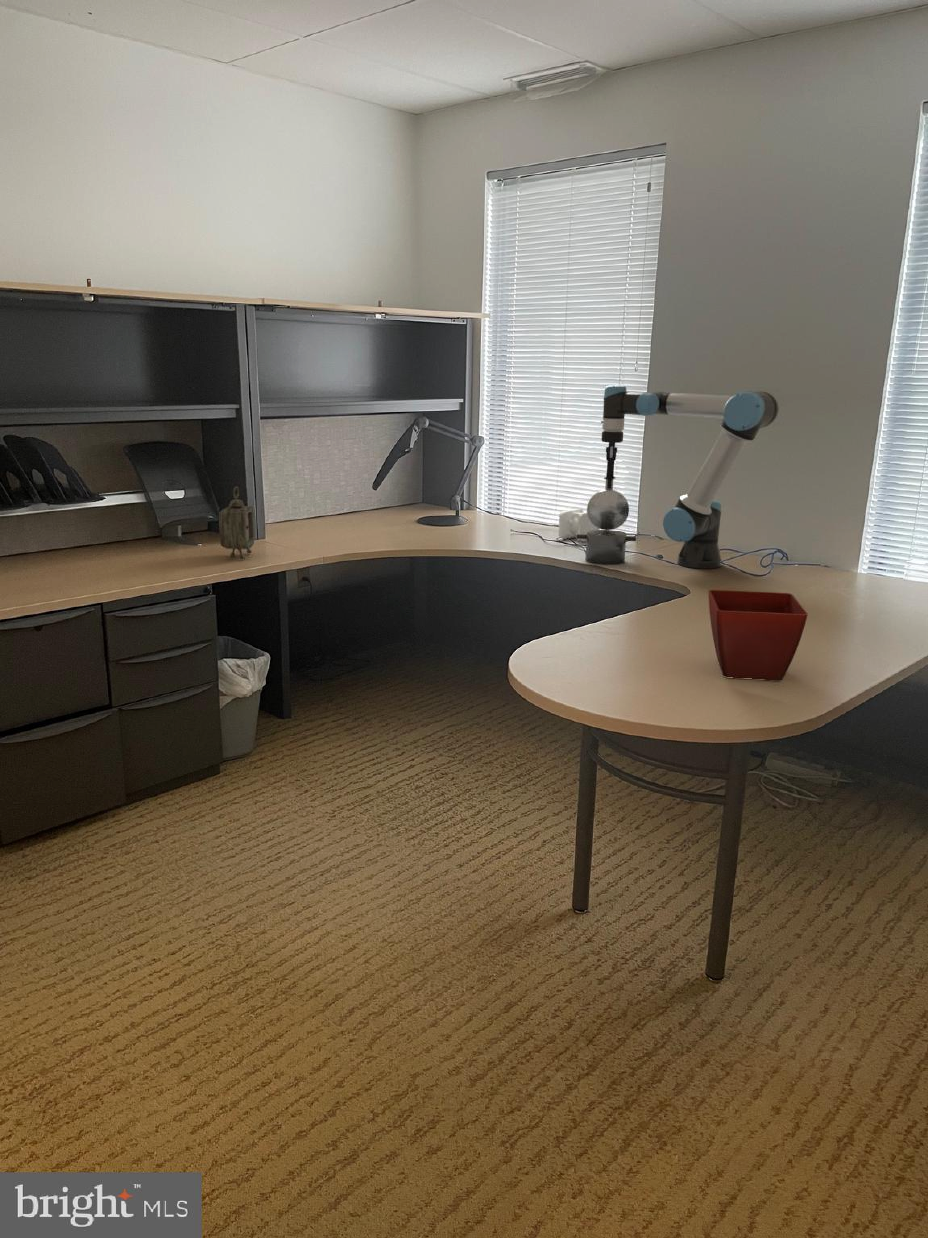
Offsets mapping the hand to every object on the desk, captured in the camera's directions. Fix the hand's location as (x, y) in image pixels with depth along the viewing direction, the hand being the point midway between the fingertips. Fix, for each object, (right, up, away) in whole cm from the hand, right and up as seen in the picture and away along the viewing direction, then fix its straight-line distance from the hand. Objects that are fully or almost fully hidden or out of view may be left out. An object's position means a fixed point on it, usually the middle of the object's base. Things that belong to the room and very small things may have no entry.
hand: (608, 497), depth 324 cm
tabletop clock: (-132, -22, -5) cm, 134 cm away
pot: (-1, -23, 0) cm, 23 cm away
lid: (0, -5, 0) cm, 5 cm away
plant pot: (+13, -56, -117) cm, 130 cm away
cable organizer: (-6, -12, +41) cm, 43 cm away
